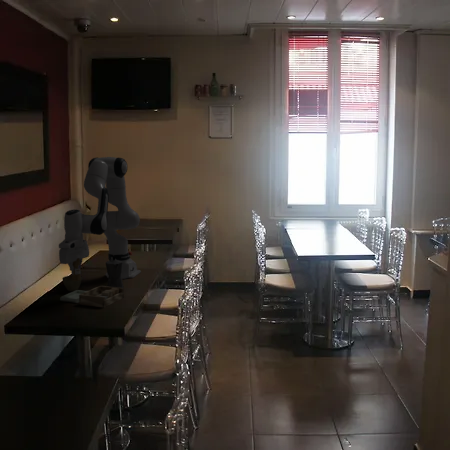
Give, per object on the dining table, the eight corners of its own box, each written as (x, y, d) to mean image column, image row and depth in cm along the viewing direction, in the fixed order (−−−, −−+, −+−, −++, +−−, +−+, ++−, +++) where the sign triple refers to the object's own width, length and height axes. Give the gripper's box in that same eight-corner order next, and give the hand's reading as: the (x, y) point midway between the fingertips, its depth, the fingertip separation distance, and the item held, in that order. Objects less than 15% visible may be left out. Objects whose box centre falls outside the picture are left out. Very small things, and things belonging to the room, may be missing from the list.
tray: (77, 293, 292) (77, 289, 292) (93, 295, 289) (93, 291, 288) (60, 300, 279) (60, 297, 279) (77, 302, 276) (76, 299, 275)
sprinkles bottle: (79, 281, 280) (78, 255, 278) (70, 281, 280) (69, 255, 278) (81, 278, 285) (80, 253, 283) (72, 279, 285) (71, 253, 282)
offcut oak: (113, 297, 285) (112, 288, 284) (119, 298, 284) (118, 288, 283) (107, 300, 280) (107, 290, 280) (113, 300, 279) (113, 291, 278)
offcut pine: (106, 300, 279) (106, 290, 278) (112, 301, 278) (112, 290, 277) (102, 302, 276) (101, 292, 275) (108, 303, 274) (107, 292, 274)
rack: (100, 294, 289) (100, 285, 289) (123, 297, 284) (123, 288, 284) (79, 304, 273) (79, 294, 272) (103, 307, 268) (103, 297, 267)
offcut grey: (101, 303, 275) (101, 295, 275) (107, 303, 274) (107, 296, 273) (96, 305, 271) (96, 297, 270) (102, 306, 270) (102, 298, 269)
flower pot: (74, 286, 306) (73, 274, 305) (86, 289, 300) (85, 276, 299) (59, 290, 298) (58, 277, 297) (71, 293, 292) (70, 280, 291)
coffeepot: (127, 291, 296) (125, 258, 293) (109, 293, 292) (108, 259, 290) (119, 284, 310) (118, 252, 307) (103, 286, 306) (101, 254, 303)
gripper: (81, 238, 290) (82, 264, 292) (56, 245, 271) (57, 273, 273) (91, 239, 288) (92, 265, 290) (66, 246, 269) (68, 274, 271)
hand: (75, 269), depth 282 cm, fingers closed on sprinkles bottle, 4 cm apart
